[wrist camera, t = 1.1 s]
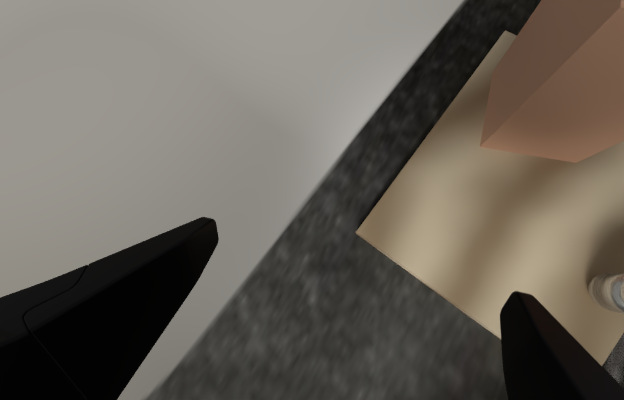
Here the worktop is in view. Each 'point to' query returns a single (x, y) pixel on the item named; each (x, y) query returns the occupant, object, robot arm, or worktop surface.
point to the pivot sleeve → (560, 83)
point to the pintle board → (508, 223)
